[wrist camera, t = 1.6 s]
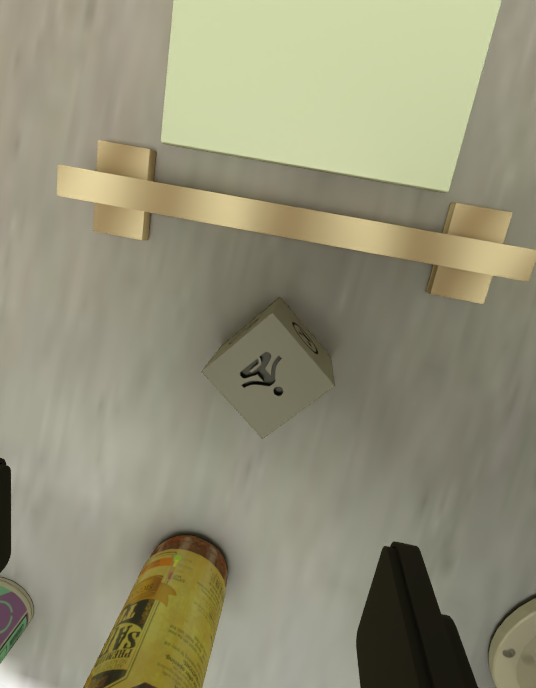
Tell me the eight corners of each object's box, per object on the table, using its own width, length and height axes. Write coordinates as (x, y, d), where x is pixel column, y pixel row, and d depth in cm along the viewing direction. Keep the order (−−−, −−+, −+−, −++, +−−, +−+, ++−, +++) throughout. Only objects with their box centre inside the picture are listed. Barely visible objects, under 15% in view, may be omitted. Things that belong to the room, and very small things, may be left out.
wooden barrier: (513, 214, 24) (552, 212, 20) (485, 302, 25) (516, 316, 21) (98, 142, 25) (58, 126, 21) (93, 229, 26) (55, 230, 23)
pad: (509, -45, 21) (516, -56, 20) (444, 192, 24) (448, 191, 23) (188, -91, 22) (183, -103, 21) (165, 144, 25) (160, 141, 24)
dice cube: (280, 296, 26) (272, 312, 22) (331, 357, 27) (334, 385, 22) (221, 346, 28) (201, 371, 23) (271, 402, 28) (262, 438, 24)
